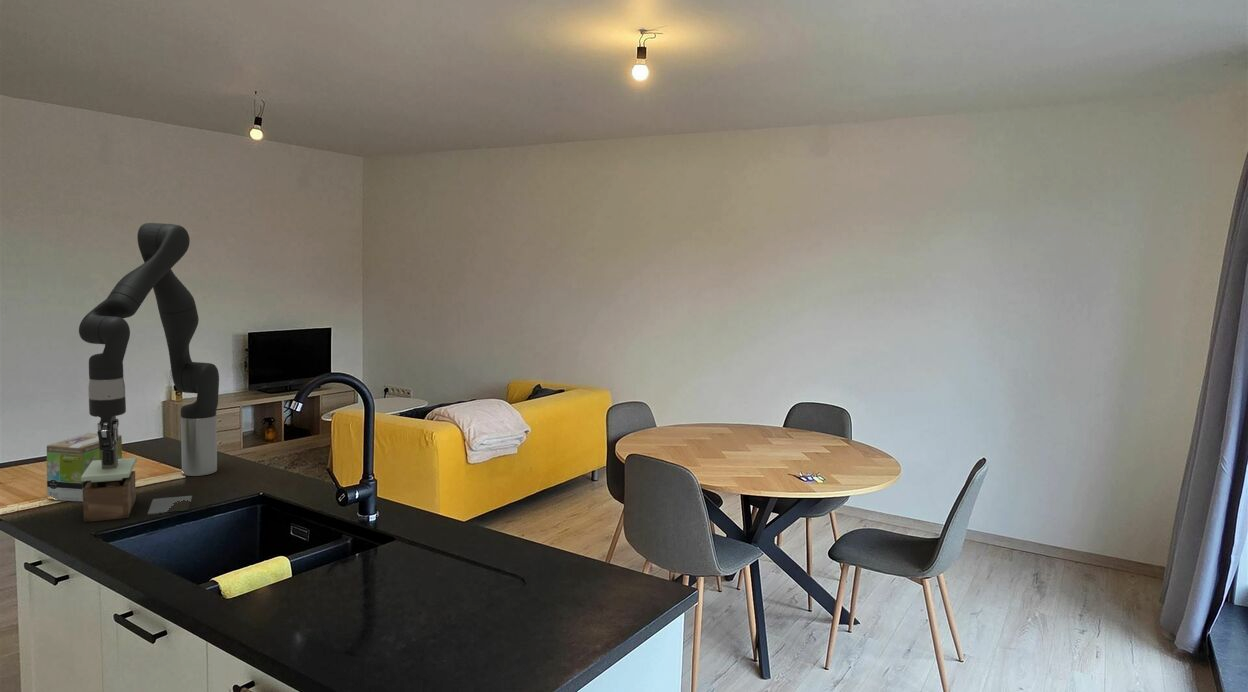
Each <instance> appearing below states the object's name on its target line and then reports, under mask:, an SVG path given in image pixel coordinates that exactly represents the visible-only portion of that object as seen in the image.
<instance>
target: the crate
mask: <svg viewBox="0 0 1248 692" xmlns="http://www.w3.org/2000/svg"><path fill="white" fill-rule="evenodd" d="M136 490H137V489H136V470H132V472H131V474H130V476H129V478H122V480H116V481H103V482H91V480H90V481H88V483H87V484H86V486H85V487H84V489H83V502H82V504H83V505H82V506H83V508H82V509H83V522H84V523H86V522H87V523H88V522H98V521H109V520H119V519H128V518H129V516H130V514H131V511H132V510H133V508H134V505H135V503H136V500H137V499H136V498H137V497H136V495H137V493H136Z"/></svg>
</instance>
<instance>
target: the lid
mask: <svg viewBox="0 0 1248 692" xmlns="http://www.w3.org/2000/svg"><path fill="white" fill-rule="evenodd" d="M104 445H109V443H104ZM136 463H137V457H128V458H127V457H126V458H122V459H118V450H117V442H114V464H113V465H103V451H102V450H101V460H95V461H92V462H91V463H90V465H89V466H88V468H87V469H86V471H85V472H84V473H83V475H82V476H81V481H90V480H91V482H103V481H116V480H122V478H129V476H130V474H131V472H132V471H134V470H133V469H134V467H135V466H136Z"/></svg>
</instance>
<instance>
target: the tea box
mask: <svg viewBox="0 0 1248 692" xmlns="http://www.w3.org/2000/svg"><path fill="white" fill-rule="evenodd" d="M122 436H123V435H120V434H118V441H117V450H118V459H123V453H122V449H123V441H122V440H123V438H122ZM95 460H101V450H100V445H99V438H98V433H92V432H91V433H89V432H87V433H84V434H82V435H78V436H75V437H71V438H68V439H64V440H62V441H58V442H54V443H51V444H47V445H46V497H47V496H51V497H53V498H55V499H57V500H56V501H61V502H62V501H63V502H64V501H65V502H82V503H83V489H84V487H85V486H86V484H87V483H88V481H81V476H82V475H83V473H84V472H85V471H86V469H87V468H88V466H89V465H90V463H91V462H92V461H95Z"/></svg>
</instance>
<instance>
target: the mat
mask: <svg viewBox="0 0 1248 692" xmlns="http://www.w3.org/2000/svg"><path fill="white" fill-rule="evenodd" d="M192 499H193V495H183V496H171V497H170V496H169V497H161V498H160V497H159V498H158V497H157V498H153V499H152V501H151V503H150V506H149V509H148V512H147V515H148V516H150V515H160V514H159V513H162V514H165V513H164V512H167V511H168V510H169V508H171V506H173V505H174V504H173V503H175V502H177V501H180V502H181V501H183V500H185V501H187V500H188V501H190V502H192ZM177 503H178V502H177Z"/></svg>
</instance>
